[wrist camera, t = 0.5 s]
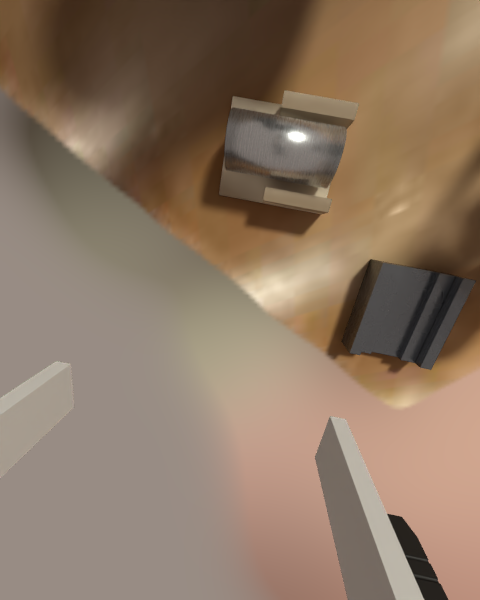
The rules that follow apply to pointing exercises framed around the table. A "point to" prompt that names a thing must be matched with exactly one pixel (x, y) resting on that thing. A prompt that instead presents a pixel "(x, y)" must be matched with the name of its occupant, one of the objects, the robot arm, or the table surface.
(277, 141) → the grey metal cylinder
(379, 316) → the v block
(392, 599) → the robot arm
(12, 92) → the table surface
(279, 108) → the bracket
